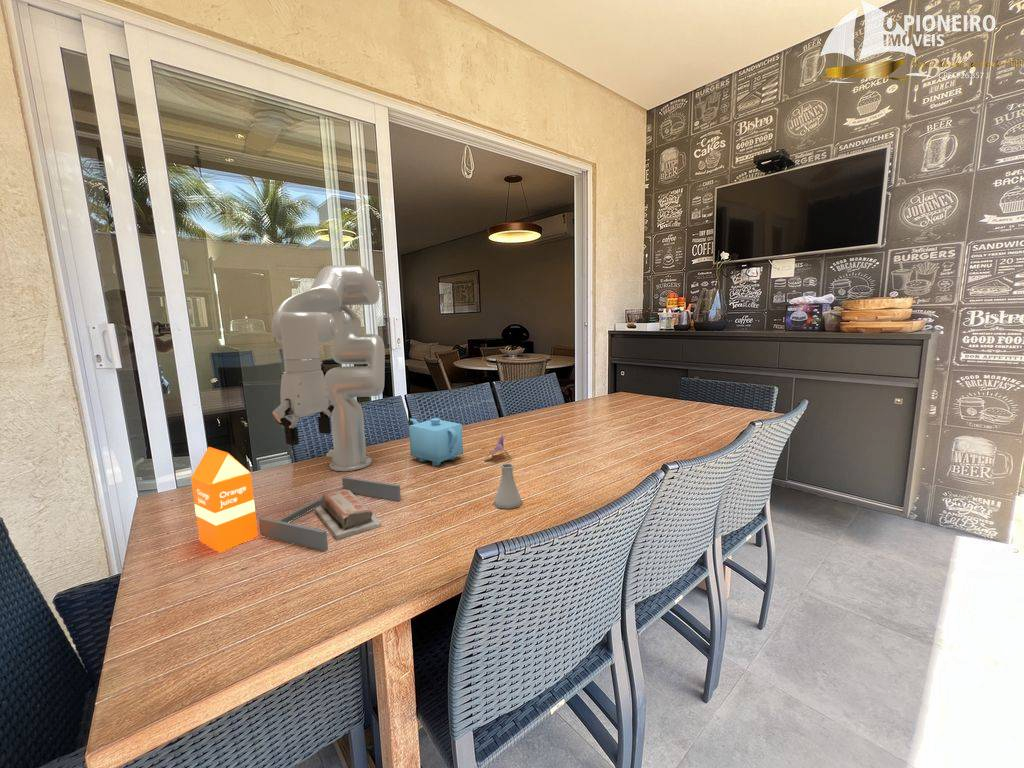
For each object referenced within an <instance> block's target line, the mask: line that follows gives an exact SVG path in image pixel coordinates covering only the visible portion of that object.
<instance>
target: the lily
mask: <svg viewBox="0 0 1024 768" xmlns="http://www.w3.org/2000/svg"><path fill="white" fill-rule="evenodd" d="M509 432H510V430H507V432H506V433H505V434H504V433H502V434H501V436H499V439H498V440H497V441H496V442H494V445H495V446H494V448H493V450H492V451H490V452H489V453H488V454H487V456H486V457H485V459H484V461H486V460H487V458H489V456H490V455H491V456H493V455H494V453H497V452H501V451H504V452H505V453H506V455H507V456H508V458H509V459H510V460H512V458H511V456H510V455H509V452H507V450H506V449H505V445H504V442H505V438H506V436H507V434H508V433H509Z"/></svg>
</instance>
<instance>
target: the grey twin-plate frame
mask: <svg viewBox="0 0 1024 768" xmlns="http://www.w3.org/2000/svg"><path fill="white" fill-rule="evenodd" d="M341 482H342V486H341V487H339V488H337V489H336V490H333V491H332V492H334V491H338V490H341V489H347V490H350V491H351V492H352V493H355V494H354V495H358V494H360V496H364V495H365V497H372V498H377V499H384V500H389V501H396V502H400V501H401V500H402V498H401V485H400V484H396V483H395V484H394V483H388V482H380V481H374V480H369V479H368V480H367V479H361V478H354V477H348V476H347V477H346V476H343V477H341ZM321 504H322V497H320V498H318V499H316V500H314V501H313V502H310V503H308V504H307V505H304V506H302V507H301V508H298V509H297V510H295V511H293V512H291V513H289V514H287V515H285V516H283V517H281V518H279V519H278V520H276V519H272V518H268V517H264V516H262V517H259V518H258V524H259V525H258V526H259V527H258V528H259V535H262V536H265V537H264V538H267V537H269V538H268V539H271V538H273V539H272V540H275V539H277V541H280V540H281V541H280V542H284V541H285V542H284V543H288V542H289V543H288V544H292V543H294V544H293V545H298V546H301V545H302V547H305V546H306V548H310V549H314V550H315V549H316V550H319V551H322V550H323V552H326V551H327V550H329V547H328V546H329V545H328V537H327V535H328V534H327V530H326V529H324V530H323V529H319V528H315V527H311V526H305V525H301V524H296V523H291V522H292V521H291V520H293V519H294V518H296V517H298V516H300V515H302V514H304V513H306V512H307V511H309V510H311V509H313V508H315V507H317V506H319V505H321ZM321 506H322V505H321ZM306 514H307V513H306ZM304 515H305V514H304ZM289 521H291V522H290V523H288V522H289ZM293 521H294V520H293ZM262 536H261V537H262Z"/></svg>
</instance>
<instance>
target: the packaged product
mask: <svg viewBox="0 0 1024 768" xmlns="http://www.w3.org/2000/svg"><path fill="white" fill-rule="evenodd" d="M333 491H334V492H333ZM333 491H329V492H327V493H324V494H322V497H321V498H322V505H321V506H317V507H315V509H314V511H315V513H316V512H317V513H316V514H317V516H318V517H319V516H320V517H319V518H321V519H320V520H321V521H323V522H324V523H323V522H322V523H323V524H325V525H324V526H325V528H326V527H327V528H326V529H327V531H329V533H330V534H331V535H332V536H333V537H334V539H335V540H337V541H339V540H342V539H345V538H349V537H352V536H355V535H358V534H360V533H361V534H362V533H364V532H367V531H370V530H374V529H377V528H380V527H382V521H380V520H379V518H377V517H376V516H375V515H374V513H373V511H372V510H371V509H370V508H368V506H367V505H366V504H364V503H363V502H362V500H360V499H359V498H358V496H356V494H353V493H352V492H351V491H350V490H347V489H341V490H338V491H335V490H333Z"/></svg>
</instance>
